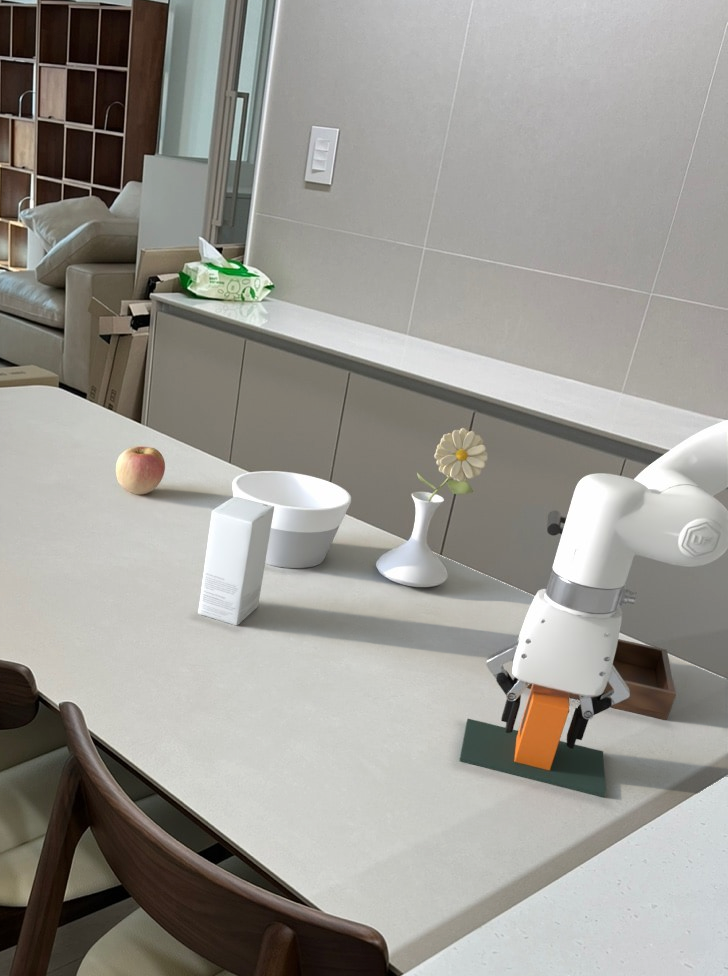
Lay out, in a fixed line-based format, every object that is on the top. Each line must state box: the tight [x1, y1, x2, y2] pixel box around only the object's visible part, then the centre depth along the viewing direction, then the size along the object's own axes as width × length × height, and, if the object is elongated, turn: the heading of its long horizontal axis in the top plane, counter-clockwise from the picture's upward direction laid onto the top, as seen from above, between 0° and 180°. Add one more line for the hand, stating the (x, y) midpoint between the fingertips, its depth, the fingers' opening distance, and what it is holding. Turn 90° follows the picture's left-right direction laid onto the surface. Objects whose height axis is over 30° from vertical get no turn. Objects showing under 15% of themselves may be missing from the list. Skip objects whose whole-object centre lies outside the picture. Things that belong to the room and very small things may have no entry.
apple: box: [115, 445, 166, 495], centre depth 192 cm, size 9×9×8 cm
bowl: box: [231, 470, 352, 569], centre depth 172 cm, size 19×19×11 cm
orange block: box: [514, 684, 570, 770], centre depth 121 cm, size 4×6×8 cm, turn 162°
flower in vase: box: [375, 427, 489, 588], centre depth 164 cm, size 13×11×25 cm
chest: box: [526, 638, 677, 721], centre depth 143 cm, size 18×15×4 cm
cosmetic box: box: [197, 495, 274, 626], centre depth 147 cm, size 8×7×16 cm
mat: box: [459, 718, 606, 798], centre depth 123 cm, size 16×10×1 cm, turn 72°
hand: (539, 733), depth 122 cm, fingers open, 6 cm apart
